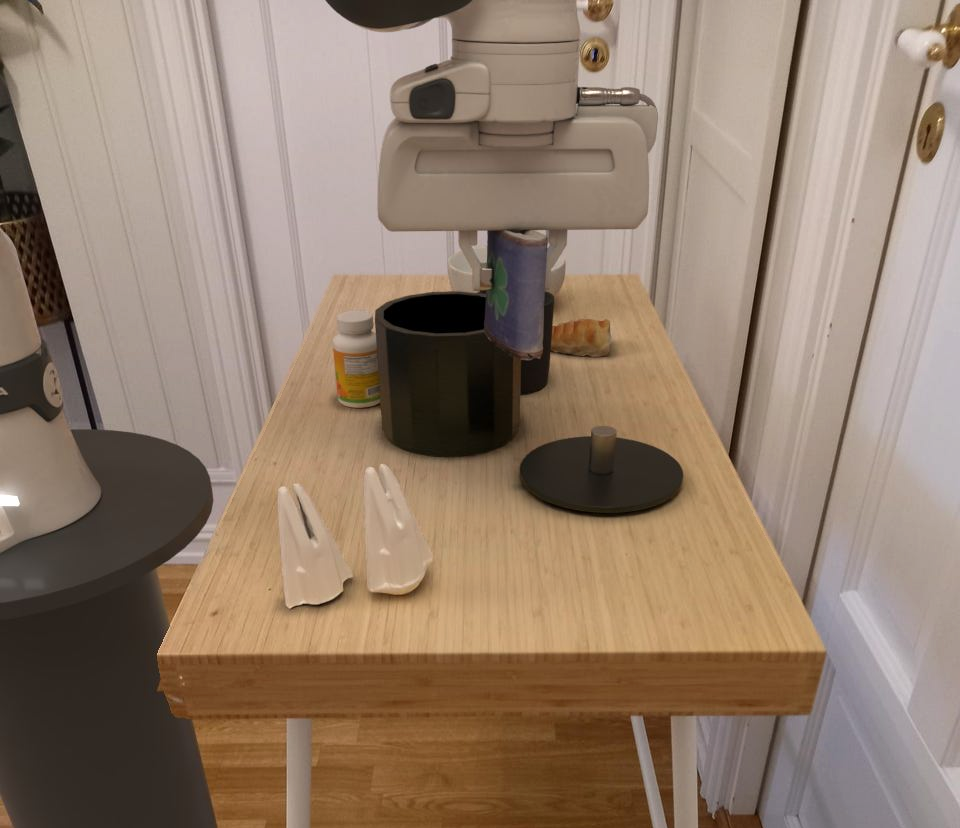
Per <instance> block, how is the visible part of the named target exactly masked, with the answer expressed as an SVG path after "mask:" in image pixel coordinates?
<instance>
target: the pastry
mask: <svg viewBox="0 0 960 828" xmlns="http://www.w3.org/2000/svg"><path fill="white" fill-rule="evenodd" d="M611 343H612V334H611V321H610V320H609V319H607V318H605V319H602V320H597V319H591V318H580V319H578V320H569V321H567V322H561V323H558V324H557V325H553V326H552V340H551V352H553V353H556V354H557V353H561V354H564V355H573V356H580V357H585V356H590V357H593V358H599V357H605V356H608V355H609V353H610V351H611V349H610V347H611Z"/></svg>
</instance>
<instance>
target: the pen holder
mask: <svg viewBox="0 0 960 828" xmlns="http://www.w3.org/2000/svg"><path fill="white" fill-rule="evenodd" d="M477 293H483V294H486V291H479V292H477ZM554 309H555V297H554V296H553V295H552V294H551V293H549V292H546V291H545V298H544V326H543V353H542V355H541V357H540V359H539V358H533V356H531V355H530V354H527V355H528V356H529V357H530V358H533V359H532V360H521V395H524V394H525V395H526V394H529V393H530V394H531V393H534V392H537V391H539V390H541V389H543V388H544V387H545V386H546V385H547V383H548V382H549V376H550V364H551V353H552V351H551V340H552V326H554V325H553V323H554V312H555V311H554Z"/></svg>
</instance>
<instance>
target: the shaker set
mask: <svg viewBox="0 0 960 828" xmlns="http://www.w3.org/2000/svg"><path fill="white" fill-rule="evenodd" d="M378 470H379V471H378V472H379V474H378V473H377V470H376V469H375V467H373V466H369V467H366V469H365V471H364V476H363V507H364V508H363V511H364V540H365V541H364V542H365V565H366V583H367V590H368V591H369V592H370V593H382V594H390V595H394V596H401V595H407V594H408V593H409V594H410V592H412V591H414V590H415V589H416V588H418V586H420V583H421V582H422V581H423V579H424V578H425V576H426V571H427V568H428V567H429V566H430V564H431V563H433V561H434V553H433V551H432V550H431V548H430V547H429V544H428V542H427V539H426V537H425V535H424V534H423V532H422V529H421V527H420V525H419V522H418V521H417V518H416V517H415V514H414V513H413V510H412V508H411V506H410V504H409V502H408V500H407V499H406V496H405V493H403V489H402V488H401V485H400V484H399V481H398V479H397V477H396V476H395V475H394V473H393V472H392V470H391V469H390V467H389V466H388V465H387V464H384V463H381V464H380V465H379V467H378ZM292 491H293V494H294V499H295V500H294V499H293V496H292V494H291V492H290V490H289V488H288V487H287V486H284V485H282V486H280V487H279V488H278V489H277V519H278V532H279V533H278V534H279V546H280V559H281V570H282V571H281V572H282V573H281V574H282V582H283V593H284V602H285V607H287V608H288V609H292V608H293V607H297V606H301V605H303V604H305V605H306V604H308V605H320V604H324V603H327V602H329V601H331V600H333V599H335V598H337V597H338V595H340V594H341V593H342V592H344V587H343V586H344V582H345V581H346V580H347V579H350V578H353V577H354V571H353V569H352V568H351V566H350V565H349V563H348V561H347V559H346V555H344V553H343V551H342V550H341V547H339V545H338V542H337V540H336V539H335V538H334V536H333V534H332V532H331V531H330V529H329V526H328V525H327V524H326V522H325V520H324V519H323V517H322V515H321V513H320V512H319V510H318V509H317V507H316V505H315V504H314V501H313V500H312V498H311V496H310V495H309V494H308V492H307V491H306V490H305V488H304V487H303V486H302V485H301V484H300V483H298V482H295V483H294V482H293V486H292ZM295 502H296V503H295Z"/></svg>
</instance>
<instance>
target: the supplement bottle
mask: <svg viewBox="0 0 960 828" xmlns="http://www.w3.org/2000/svg"><path fill="white" fill-rule="evenodd" d="M336 326H337V331H338V333H337V334H336V335H335V336H334V337H333V339H332V353H333V354H332V355H333V362H334V374H335V384H336V385H335V386H336V394H337V400H338V402H339V403H340V404H341V405H343V406H345V407H348V408H353V409H354V408H356V409H360V408H369V407H373V406H377V405H379V404H381V401H380V387H379V373H378V359H377V344H376V331H375V332H374V331H373V329H374V327H375V322H374V315H373V313H371V312H370V311H366V310H348V311H343V312H340V313H339V314H337V316H336Z"/></svg>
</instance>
